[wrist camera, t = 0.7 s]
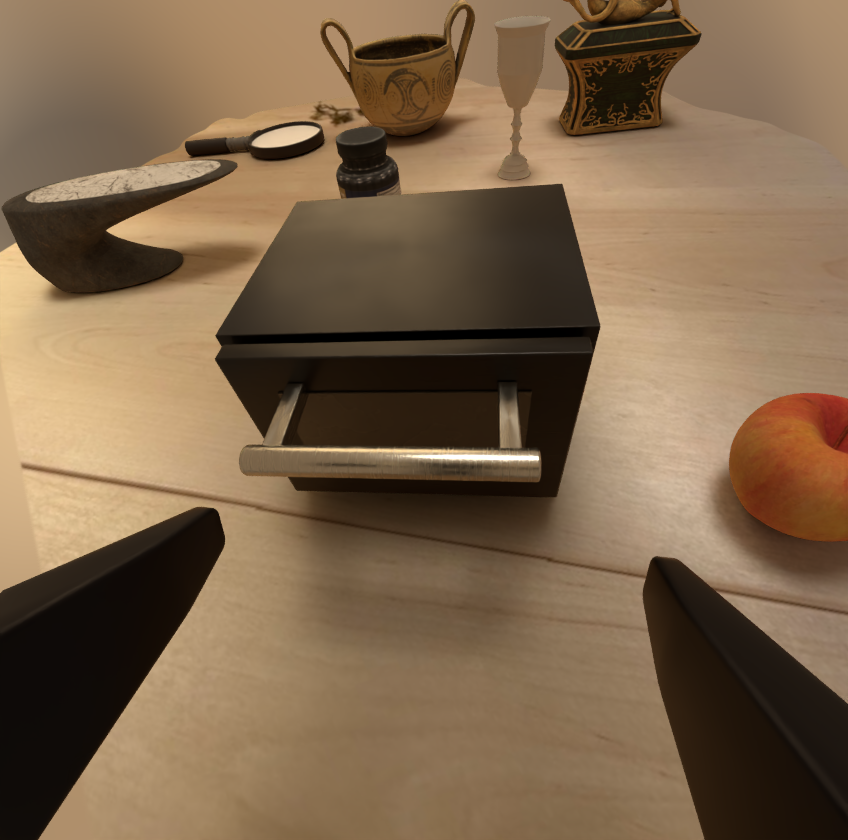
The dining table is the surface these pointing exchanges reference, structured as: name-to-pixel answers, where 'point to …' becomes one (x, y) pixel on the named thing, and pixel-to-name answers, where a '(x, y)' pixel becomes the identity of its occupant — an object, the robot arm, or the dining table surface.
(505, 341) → the oven door
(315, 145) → the magnifying glass
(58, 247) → the coffee table
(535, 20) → the chalice
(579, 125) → the decorative box
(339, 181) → the pill bottle
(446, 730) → the dining table surface
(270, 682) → the dining table surface
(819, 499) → the apple
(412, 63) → the ceramic bowl
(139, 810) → the dining table surface
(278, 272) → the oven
